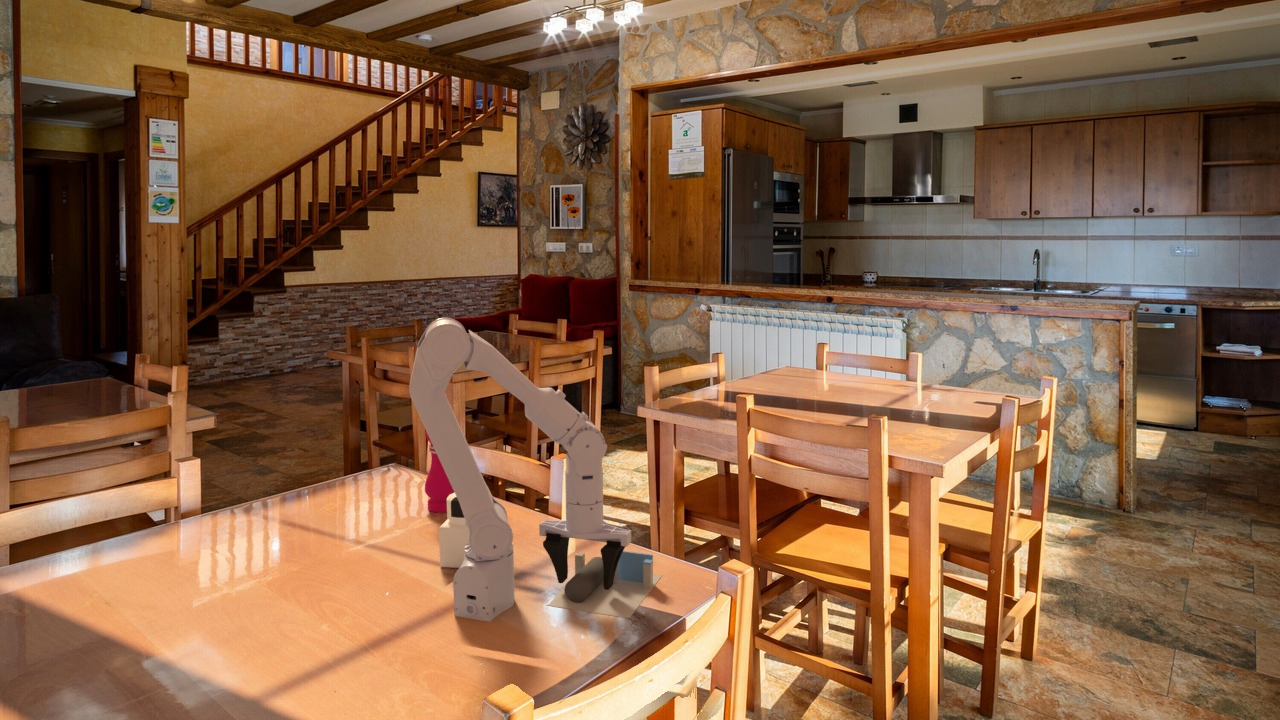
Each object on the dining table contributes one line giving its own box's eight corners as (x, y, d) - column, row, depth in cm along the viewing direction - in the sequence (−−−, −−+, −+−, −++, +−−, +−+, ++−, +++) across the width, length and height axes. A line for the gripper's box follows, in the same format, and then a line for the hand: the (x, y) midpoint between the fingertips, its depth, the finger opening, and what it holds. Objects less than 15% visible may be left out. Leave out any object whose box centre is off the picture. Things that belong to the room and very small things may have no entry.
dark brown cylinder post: (586, 604, 124) (586, 581, 123) (564, 600, 125) (564, 578, 124) (609, 579, 133) (609, 558, 132) (588, 576, 134) (588, 555, 133)
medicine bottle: (492, 553, 146) (490, 488, 144) (480, 569, 139) (478, 500, 137) (453, 551, 146) (451, 486, 145) (439, 567, 139) (437, 499, 138)
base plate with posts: (629, 623, 119) (629, 586, 119) (547, 610, 123) (547, 574, 123) (661, 580, 134) (662, 547, 134) (588, 570, 138) (587, 538, 138)
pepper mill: (417, 510, 169) (414, 414, 166) (441, 500, 175) (438, 408, 172) (445, 515, 165) (441, 418, 162) (468, 505, 172) (465, 411, 169)
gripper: (637, 496, 127) (638, 579, 129) (552, 487, 132) (553, 568, 134) (622, 510, 120) (622, 598, 122) (532, 500, 125) (534, 585, 127)
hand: (585, 583), depth 128 cm, fingers open, 7 cm apart
